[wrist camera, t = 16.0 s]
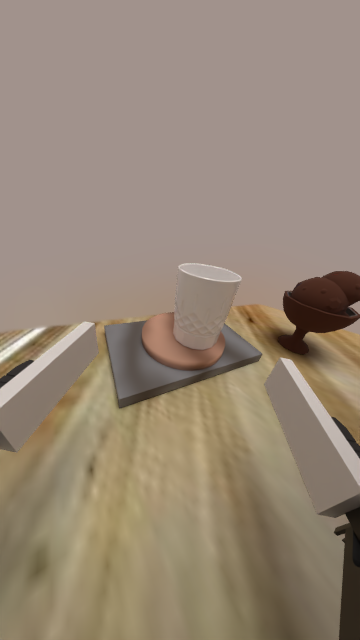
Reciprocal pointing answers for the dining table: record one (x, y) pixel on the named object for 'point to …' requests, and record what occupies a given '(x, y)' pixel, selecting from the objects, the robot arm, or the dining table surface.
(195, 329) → the white cup
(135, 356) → the serving stand
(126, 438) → the dining table surface
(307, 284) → the ice cream bowl
